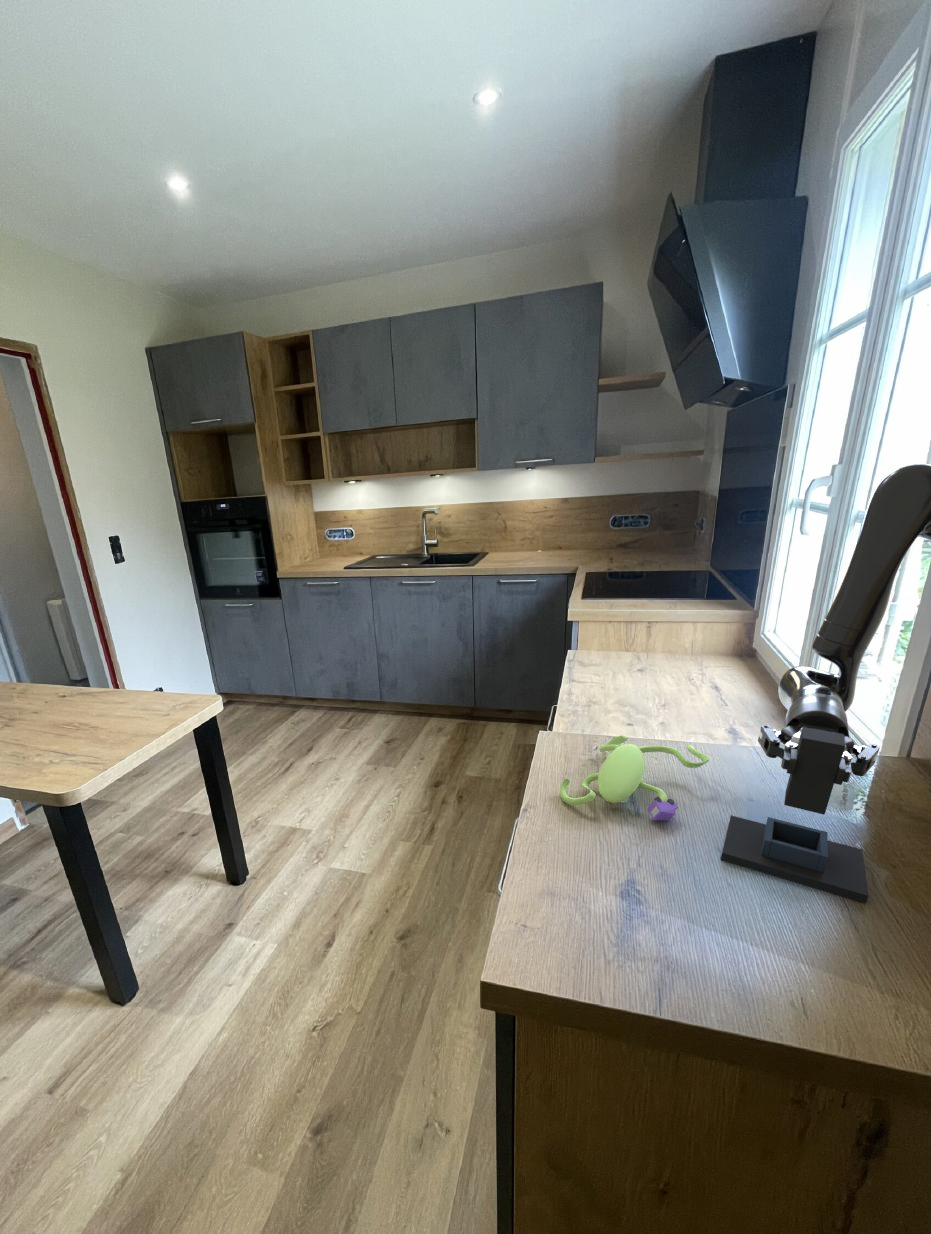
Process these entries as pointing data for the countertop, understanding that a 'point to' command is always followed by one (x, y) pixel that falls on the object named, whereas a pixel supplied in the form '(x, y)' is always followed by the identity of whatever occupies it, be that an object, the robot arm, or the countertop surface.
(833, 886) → the black socket base
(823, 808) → the black rectangular block
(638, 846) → the countertop surface
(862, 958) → the countertop surface
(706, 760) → the figurine
